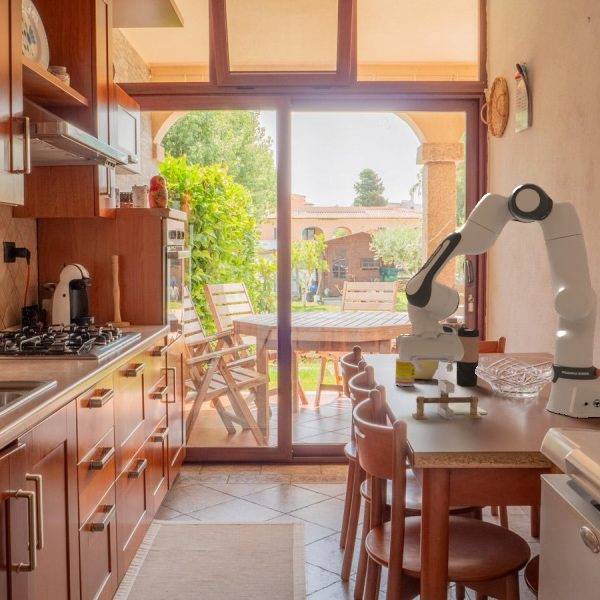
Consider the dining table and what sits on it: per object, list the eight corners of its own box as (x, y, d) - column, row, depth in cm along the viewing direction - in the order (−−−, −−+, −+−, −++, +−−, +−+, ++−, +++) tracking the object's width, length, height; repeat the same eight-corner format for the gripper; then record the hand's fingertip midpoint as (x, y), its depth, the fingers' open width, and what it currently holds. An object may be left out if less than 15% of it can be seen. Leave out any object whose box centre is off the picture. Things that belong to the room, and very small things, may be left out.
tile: (475, 406, 226) (475, 404, 226) (487, 414, 216) (487, 412, 216) (443, 406, 224) (443, 405, 224) (454, 414, 215) (454, 412, 215)
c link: (445, 412, 216) (446, 379, 216) (453, 418, 209) (454, 384, 208) (437, 413, 216) (438, 379, 215) (445, 419, 209) (446, 384, 208)
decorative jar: (467, 357, 323) (469, 317, 322) (458, 361, 313) (459, 319, 312) (442, 355, 330) (443, 315, 328) (432, 358, 320) (433, 317, 318)
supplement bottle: (413, 387, 254) (414, 351, 253) (394, 386, 256) (395, 350, 255) (414, 384, 261) (415, 348, 260) (395, 383, 262) (396, 347, 261)
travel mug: (462, 387, 256) (464, 330, 255) (452, 383, 264) (453, 328, 262) (481, 386, 258) (483, 330, 257) (471, 382, 266) (472, 327, 264)
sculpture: (443, 380, 268) (443, 351, 267) (414, 382, 264) (415, 353, 263) (426, 375, 279) (427, 347, 278) (399, 377, 274) (399, 348, 273)
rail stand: (477, 415, 214) (477, 395, 214) (481, 418, 211) (482, 397, 210) (412, 416, 212) (412, 395, 211) (415, 419, 208) (416, 398, 208)
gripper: (396, 328, 228) (404, 364, 219) (460, 328, 230) (469, 364, 221) (393, 340, 232) (400, 376, 223) (455, 340, 235) (464, 376, 226)
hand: (435, 370), depth 222 cm, fingers open, 8 cm apart
